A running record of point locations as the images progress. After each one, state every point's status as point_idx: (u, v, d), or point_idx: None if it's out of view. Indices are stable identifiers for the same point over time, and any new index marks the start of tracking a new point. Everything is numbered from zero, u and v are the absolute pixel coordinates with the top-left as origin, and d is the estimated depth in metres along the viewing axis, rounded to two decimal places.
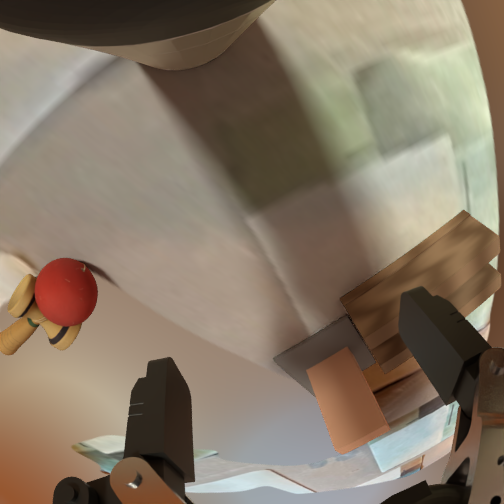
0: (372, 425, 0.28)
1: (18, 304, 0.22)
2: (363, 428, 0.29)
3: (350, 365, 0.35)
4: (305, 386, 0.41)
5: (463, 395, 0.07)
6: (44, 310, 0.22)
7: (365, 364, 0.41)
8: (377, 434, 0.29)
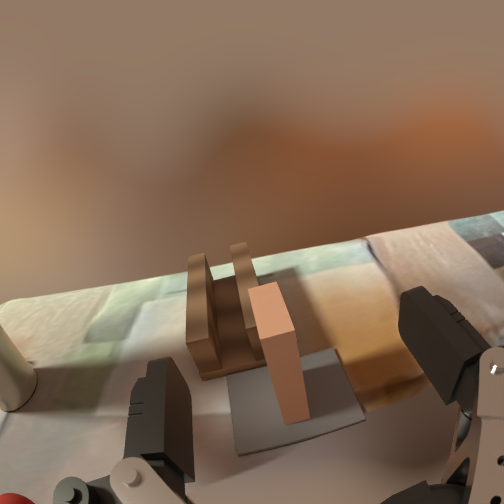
0: None
1: None
2: None
3: None
4: (324, 430, 0.25)
5: (463, 395, 0.07)
6: None
7: (326, 358, 0.33)
8: (270, 293, 0.25)
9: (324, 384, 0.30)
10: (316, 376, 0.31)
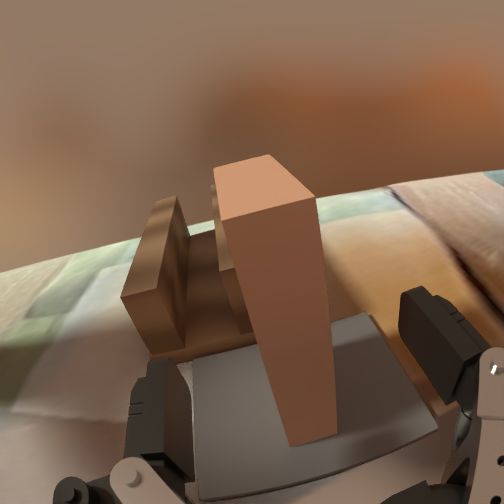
0: None
1: None
2: None
3: None
4: (366, 455, 0.12)
5: (463, 395, 0.07)
6: None
7: (358, 328, 0.20)
8: (256, 165, 0.12)
9: (359, 371, 0.17)
10: (343, 358, 0.18)
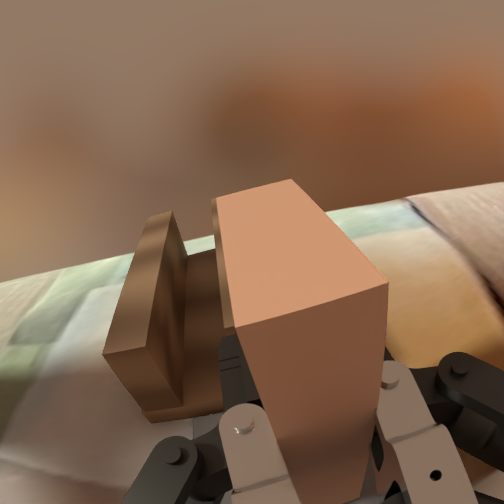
0: None
1: None
2: None
3: None
4: None
5: None
6: None
7: None
8: (277, 198, 0.09)
9: None
10: None
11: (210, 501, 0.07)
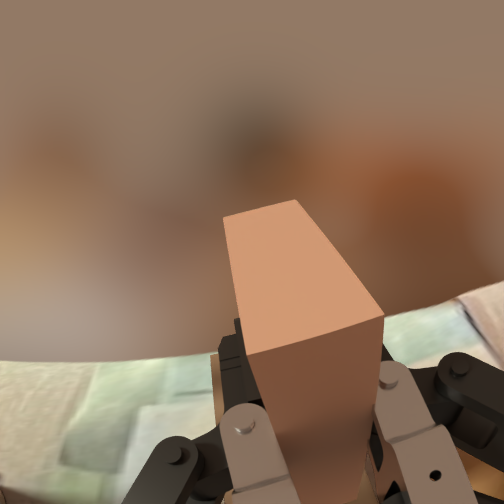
0: None
1: None
2: None
3: None
4: None
5: None
6: None
7: None
8: (282, 221, 0.09)
9: None
10: None
11: (210, 501, 0.07)
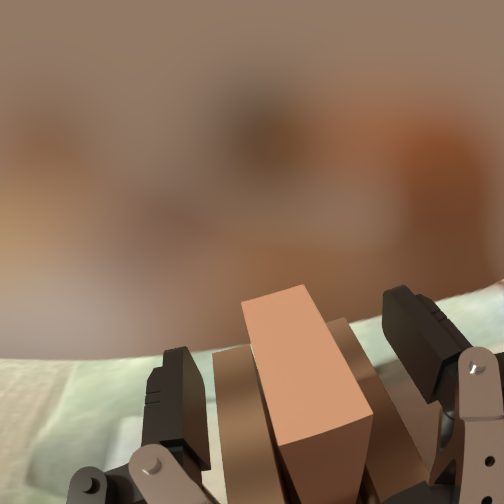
0: None
1: None
2: None
3: None
4: None
5: (443, 394, 0.07)
6: None
7: None
8: (293, 313, 0.11)
9: None
10: None
11: None
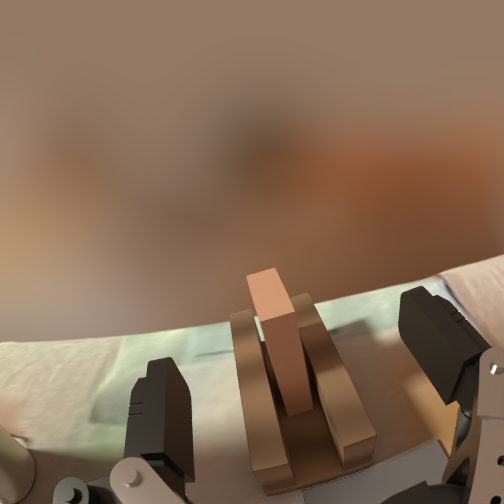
0: None
1: None
2: None
3: None
4: None
5: (463, 395, 0.07)
6: None
7: (431, 456, 0.19)
8: (269, 279, 0.25)
9: None
10: None
11: None
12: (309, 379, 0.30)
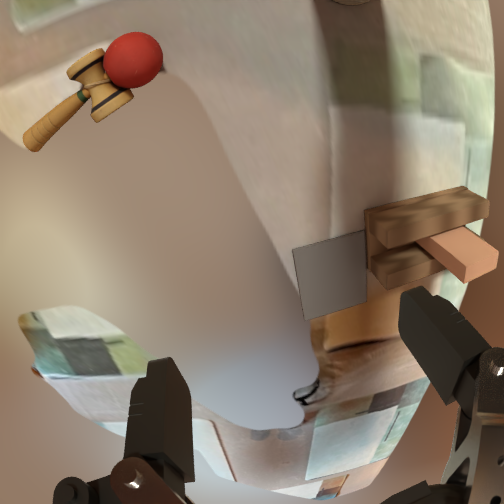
0: (488, 252, 0.31)
1: (86, 56, 0.23)
2: (482, 253, 0.31)
3: None
4: (303, 300, 0.45)
5: (463, 395, 0.07)
6: (114, 55, 0.23)
7: (358, 298, 0.46)
8: (489, 266, 0.31)
9: (338, 298, 0.46)
10: (346, 293, 0.45)
11: None
12: None
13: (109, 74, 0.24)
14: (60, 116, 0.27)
